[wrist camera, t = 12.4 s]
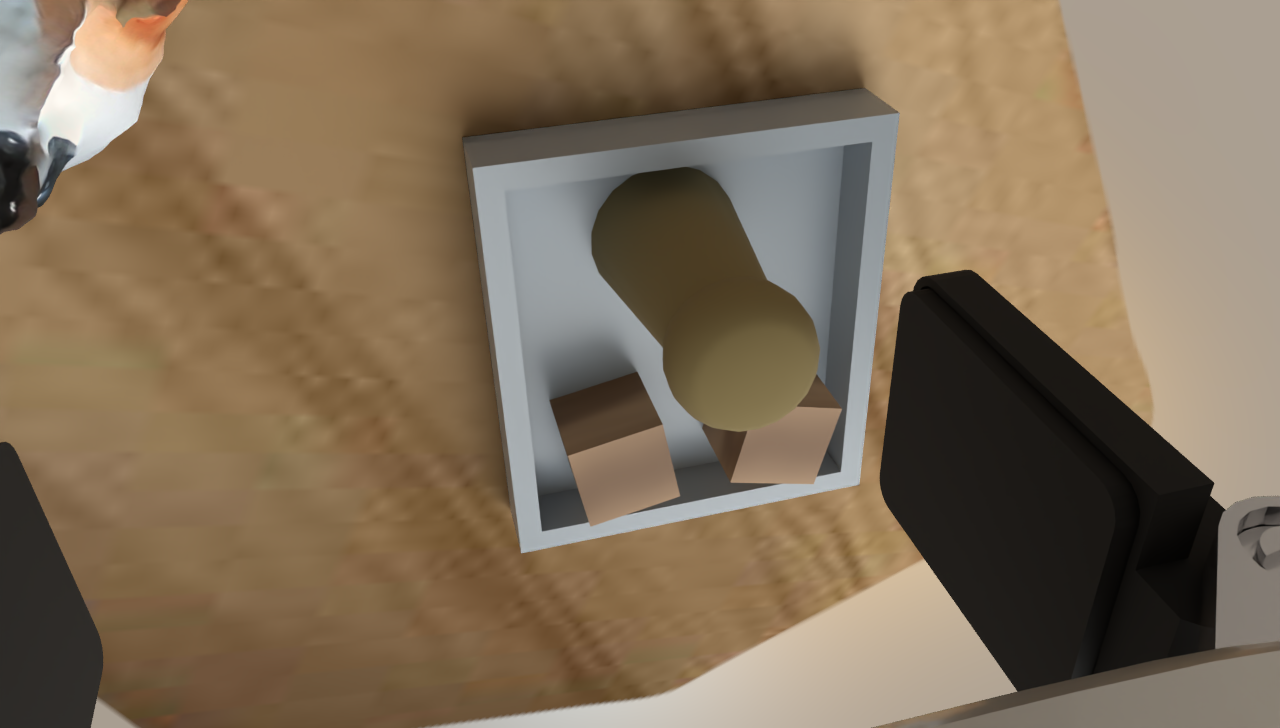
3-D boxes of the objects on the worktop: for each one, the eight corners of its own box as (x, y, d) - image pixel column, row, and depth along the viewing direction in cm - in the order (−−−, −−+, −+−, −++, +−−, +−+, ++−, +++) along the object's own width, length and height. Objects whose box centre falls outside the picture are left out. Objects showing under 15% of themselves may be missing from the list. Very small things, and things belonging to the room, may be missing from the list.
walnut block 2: (724, 353, 46) (756, 404, 43) (805, 359, 47) (842, 408, 44) (702, 428, 48) (730, 482, 45) (780, 431, 49) (813, 484, 46)
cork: (563, 214, 41) (635, 364, 32) (700, 136, 40) (811, 264, 31) (630, 326, 44) (712, 489, 35) (756, 255, 44) (871, 401, 35)
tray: (462, 137, 39) (472, 167, 36) (864, 87, 42) (899, 113, 39) (510, 509, 48) (521, 553, 46) (833, 446, 52) (859, 484, 49)
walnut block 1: (549, 400, 45) (567, 456, 42) (637, 371, 45) (662, 424, 42) (571, 469, 47) (590, 526, 44) (655, 441, 48) (680, 496, 44)
